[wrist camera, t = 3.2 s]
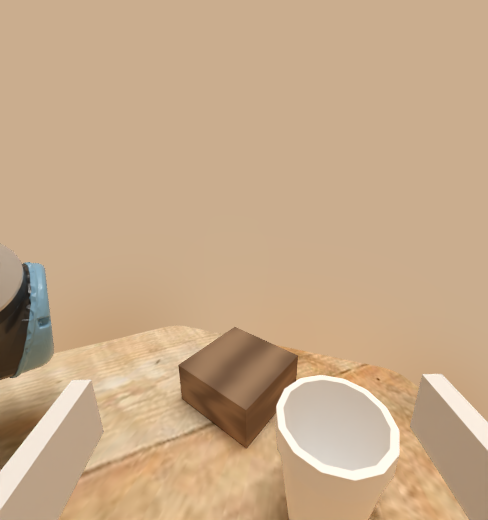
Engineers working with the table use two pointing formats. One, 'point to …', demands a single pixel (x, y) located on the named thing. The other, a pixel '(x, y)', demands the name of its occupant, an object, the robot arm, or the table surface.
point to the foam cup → (334, 449)
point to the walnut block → (237, 382)
